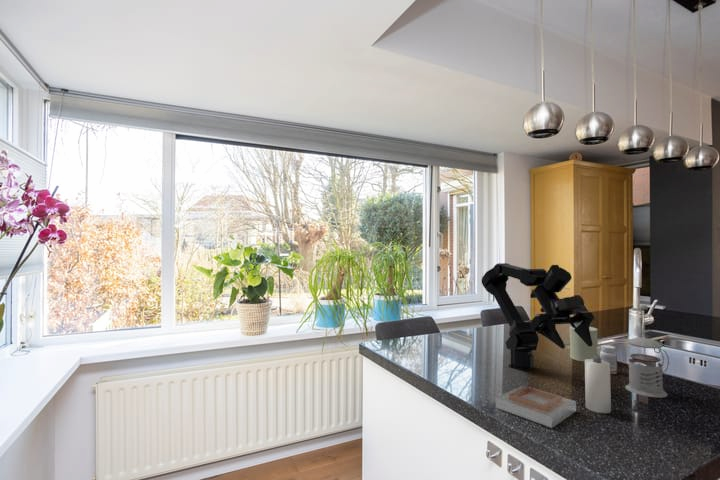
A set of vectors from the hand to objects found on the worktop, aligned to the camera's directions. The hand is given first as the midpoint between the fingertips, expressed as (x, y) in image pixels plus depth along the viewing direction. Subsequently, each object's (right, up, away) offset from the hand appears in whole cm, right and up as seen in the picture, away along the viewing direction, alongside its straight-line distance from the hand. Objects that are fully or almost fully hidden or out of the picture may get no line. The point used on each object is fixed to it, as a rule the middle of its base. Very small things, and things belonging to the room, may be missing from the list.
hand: (577, 346), depth 103 cm
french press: (+23, -14, +3) cm, 27 cm away
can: (+23, -15, +34) cm, 44 cm away
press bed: (-16, -13, -9) cm, 23 cm away
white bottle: (0, -13, -9) cm, 16 cm away
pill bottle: (+22, -14, +19) cm, 33 cm away
